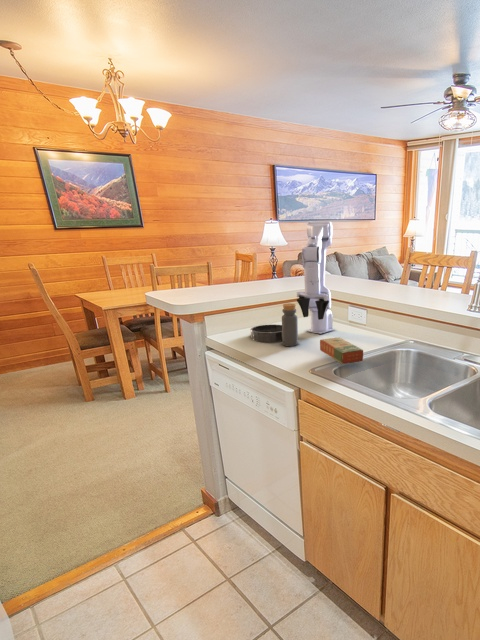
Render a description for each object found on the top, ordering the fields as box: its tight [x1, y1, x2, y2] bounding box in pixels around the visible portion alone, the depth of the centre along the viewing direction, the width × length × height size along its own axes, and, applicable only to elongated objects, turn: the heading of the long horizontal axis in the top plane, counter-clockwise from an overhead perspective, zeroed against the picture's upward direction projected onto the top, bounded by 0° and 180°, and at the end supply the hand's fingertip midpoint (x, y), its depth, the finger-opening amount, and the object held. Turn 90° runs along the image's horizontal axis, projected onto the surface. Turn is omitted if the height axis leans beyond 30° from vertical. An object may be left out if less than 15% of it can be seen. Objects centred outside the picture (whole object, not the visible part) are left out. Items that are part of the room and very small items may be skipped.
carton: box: [319, 336, 364, 365], centre depth 140 cm, size 8×16×4 cm, turn 30°
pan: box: [250, 324, 283, 344], centre depth 165 cm, size 15×15×4 cm
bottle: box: [281, 302, 299, 347], centre depth 154 cm, size 6×6×15 cm
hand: (313, 318), depth 157 cm, fingers open, 7 cm apart
